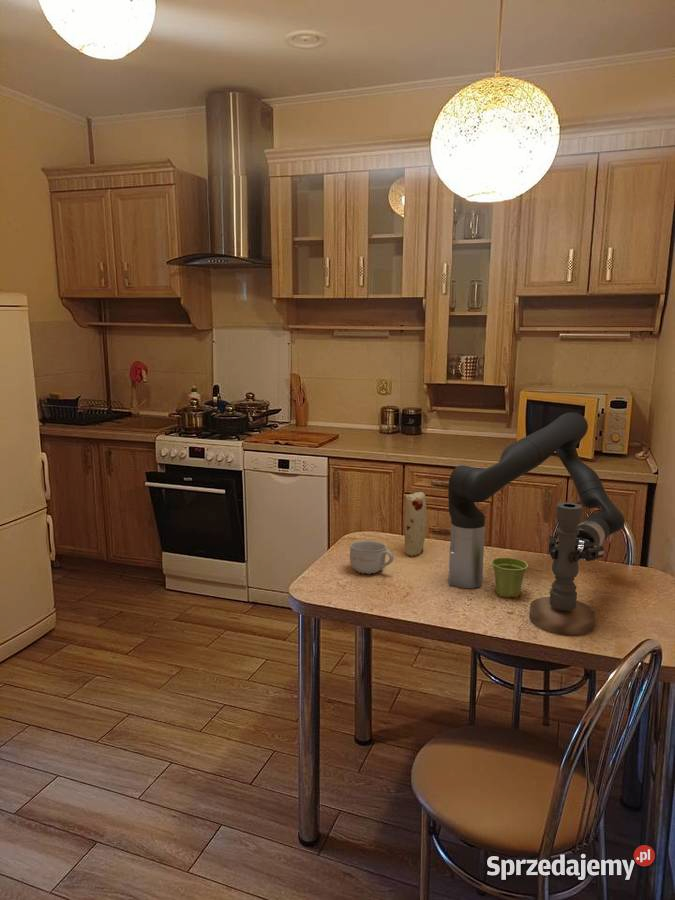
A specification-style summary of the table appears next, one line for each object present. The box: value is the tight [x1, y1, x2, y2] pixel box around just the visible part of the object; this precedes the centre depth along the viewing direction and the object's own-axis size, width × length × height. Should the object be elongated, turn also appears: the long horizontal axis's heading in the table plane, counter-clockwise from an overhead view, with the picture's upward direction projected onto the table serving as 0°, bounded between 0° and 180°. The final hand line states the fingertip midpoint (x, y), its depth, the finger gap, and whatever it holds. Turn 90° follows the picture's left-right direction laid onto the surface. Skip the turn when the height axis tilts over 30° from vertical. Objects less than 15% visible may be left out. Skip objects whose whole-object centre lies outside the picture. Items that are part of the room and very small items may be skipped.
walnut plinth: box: [528, 596, 596, 636], centre depth 152 cm, size 15×15×3 cm
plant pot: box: [491, 556, 529, 598], centre depth 168 cm, size 9×9×9 cm
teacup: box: [349, 540, 394, 575], centre depth 183 cm, size 14×11×8 cm
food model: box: [403, 491, 428, 557], centre depth 198 cm, size 10×7×20 cm
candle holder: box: [549, 502, 583, 610], centre depth 149 cm, size 6×6×25 cm
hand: (562, 557), depth 147 cm, fingers closed on candle holder, 3 cm apart
